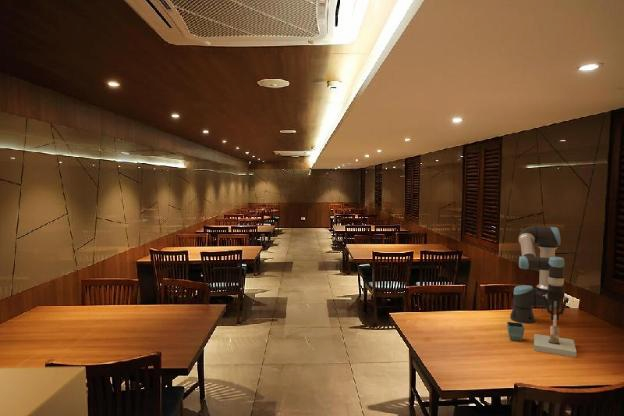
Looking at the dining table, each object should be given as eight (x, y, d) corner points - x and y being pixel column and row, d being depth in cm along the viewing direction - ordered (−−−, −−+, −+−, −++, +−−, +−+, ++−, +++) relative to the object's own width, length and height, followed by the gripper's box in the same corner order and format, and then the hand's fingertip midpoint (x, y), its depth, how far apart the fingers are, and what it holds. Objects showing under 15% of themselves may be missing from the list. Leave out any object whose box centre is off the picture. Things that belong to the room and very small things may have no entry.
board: (534, 350, 231) (534, 345, 231) (534, 338, 249) (534, 333, 248) (576, 357, 222) (576, 352, 221) (573, 344, 239) (573, 339, 239)
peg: (550, 348, 234) (550, 327, 233) (549, 345, 238) (550, 325, 237) (559, 349, 232) (559, 328, 231) (558, 346, 236) (559, 326, 235)
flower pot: (522, 337, 251) (522, 322, 250) (524, 342, 242) (524, 327, 242) (506, 335, 254) (506, 321, 253) (508, 340, 245) (508, 326, 245)
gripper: (542, 284, 233) (541, 325, 234) (569, 287, 227) (568, 329, 228) (542, 282, 239) (541, 321, 241) (568, 284, 233) (567, 325, 235)
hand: (554, 325), depth 234 cm, fingers closed
